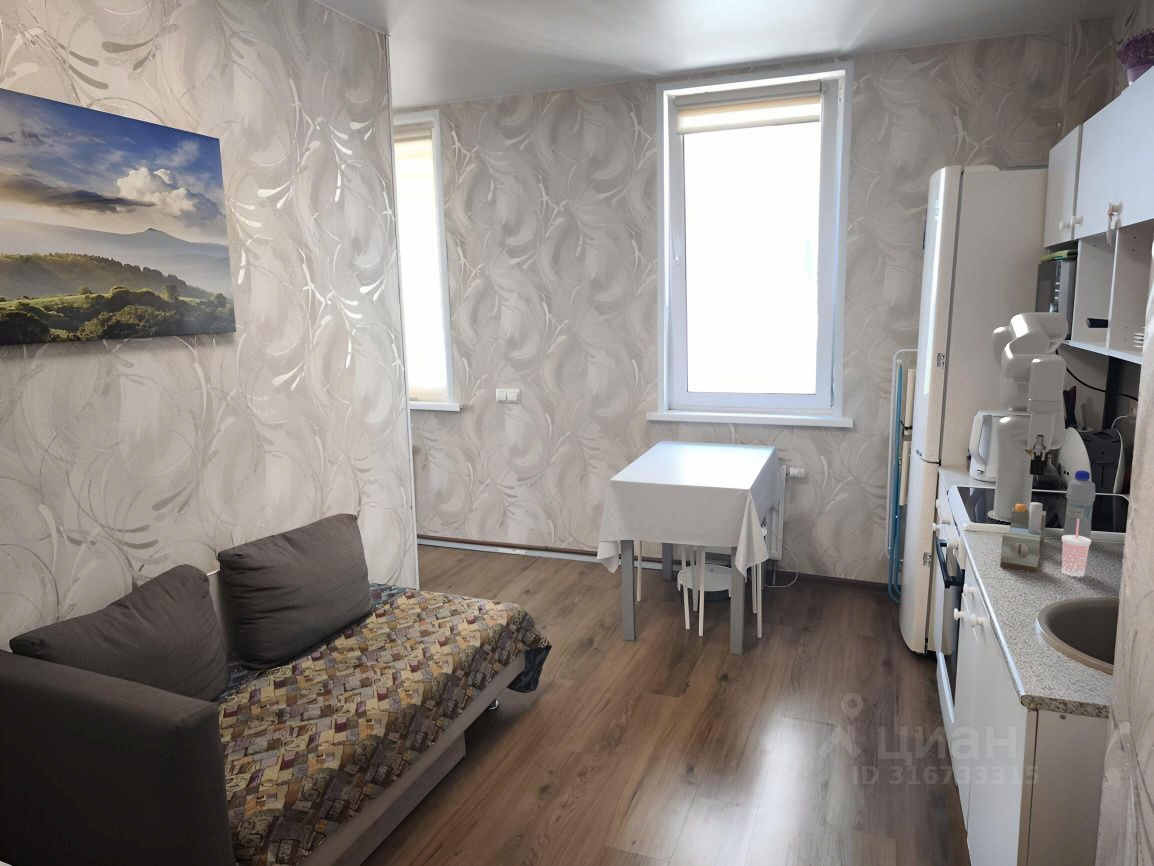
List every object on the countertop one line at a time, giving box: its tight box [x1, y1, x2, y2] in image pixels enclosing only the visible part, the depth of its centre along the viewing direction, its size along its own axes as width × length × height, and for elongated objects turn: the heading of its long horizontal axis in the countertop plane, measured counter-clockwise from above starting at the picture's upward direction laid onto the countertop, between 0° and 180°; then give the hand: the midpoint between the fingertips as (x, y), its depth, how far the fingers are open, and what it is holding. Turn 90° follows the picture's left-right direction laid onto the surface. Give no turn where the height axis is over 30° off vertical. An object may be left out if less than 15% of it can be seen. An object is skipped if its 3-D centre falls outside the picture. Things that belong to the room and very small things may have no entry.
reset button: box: [1015, 504, 1027, 512], centre depth 214 cm, size 3×3×4 cm
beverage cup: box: [1061, 519, 1092, 578], centre depth 189 cm, size 6×6×14 cm
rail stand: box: [999, 508, 1047, 574], centre depth 204 cm, size 28×8×8 cm, turn 146°
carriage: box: [1009, 501, 1044, 539], centre depth 206 cm, size 5×7×10 cm
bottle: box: [1063, 470, 1097, 539], centre depth 211 cm, size 7×7×20 cm
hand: (1038, 470), depth 202 cm, fingers open, 9 cm apart
